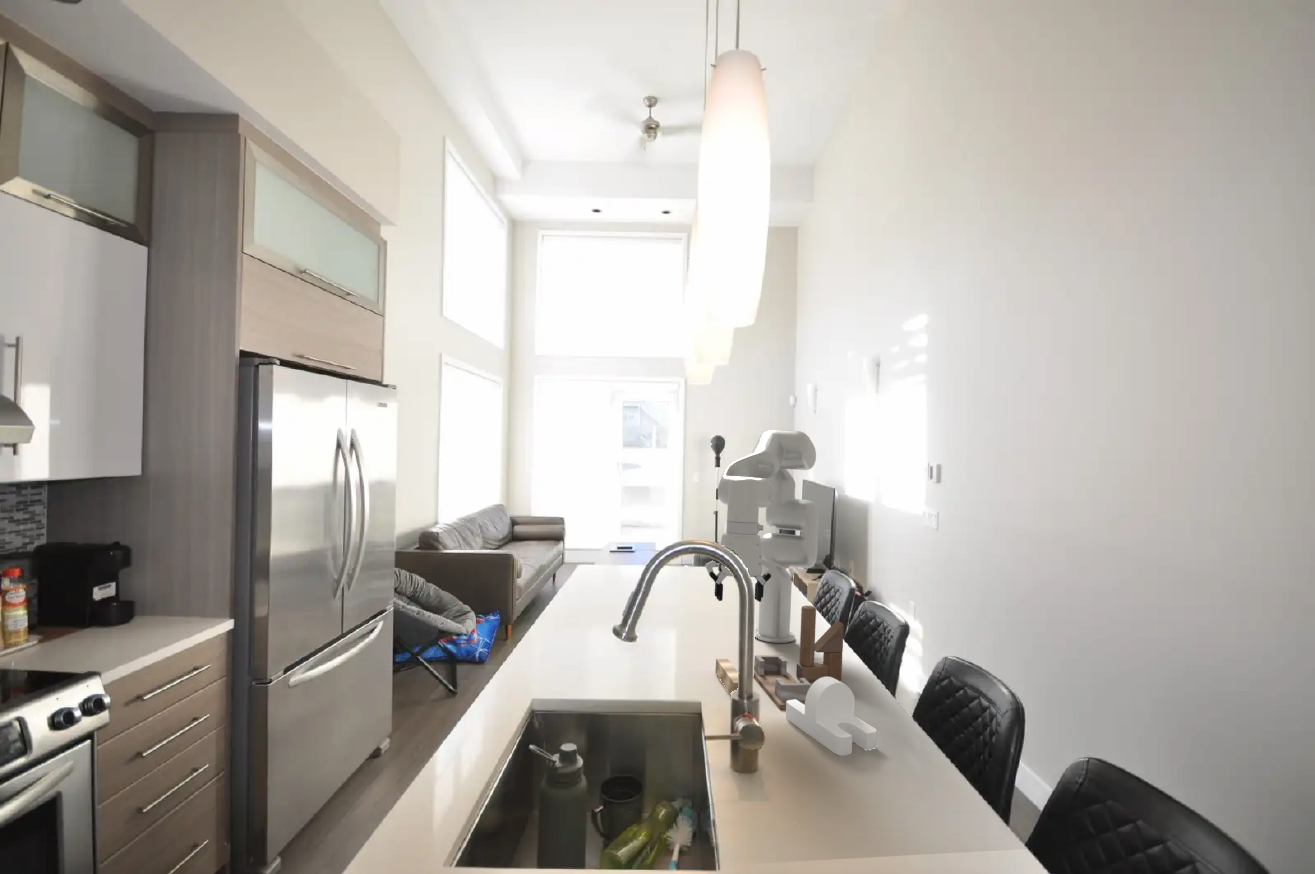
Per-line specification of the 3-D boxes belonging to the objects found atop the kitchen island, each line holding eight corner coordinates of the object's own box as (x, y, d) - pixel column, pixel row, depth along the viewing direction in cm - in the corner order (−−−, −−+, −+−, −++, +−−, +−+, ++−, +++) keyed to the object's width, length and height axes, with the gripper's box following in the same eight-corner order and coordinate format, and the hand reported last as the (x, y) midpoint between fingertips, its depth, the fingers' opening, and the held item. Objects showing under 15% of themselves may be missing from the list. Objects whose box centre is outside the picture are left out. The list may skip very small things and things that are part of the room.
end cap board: (747, 670, 160) (748, 652, 160) (781, 670, 161) (782, 652, 162) (779, 709, 136) (780, 688, 137) (818, 708, 138) (819, 688, 138)
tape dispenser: (838, 757, 116) (841, 699, 117) (783, 717, 133) (785, 667, 133) (878, 750, 120) (881, 693, 120) (820, 712, 137) (821, 662, 137)
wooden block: (841, 681, 156) (844, 608, 156) (801, 682, 153) (804, 609, 154) (834, 675, 159) (837, 605, 160) (795, 677, 157) (798, 605, 157)
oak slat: (715, 674, 157) (716, 658, 157) (726, 674, 157) (727, 658, 157) (732, 700, 141) (733, 682, 141) (745, 700, 142) (746, 682, 142)
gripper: (771, 528, 156) (767, 597, 155) (703, 526, 153) (700, 596, 153) (781, 532, 149) (778, 604, 148) (711, 529, 146) (707, 603, 145)
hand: (738, 600), depth 150 cm, fingers open, 9 cm apart
